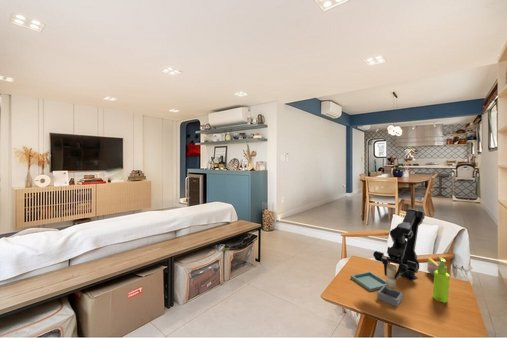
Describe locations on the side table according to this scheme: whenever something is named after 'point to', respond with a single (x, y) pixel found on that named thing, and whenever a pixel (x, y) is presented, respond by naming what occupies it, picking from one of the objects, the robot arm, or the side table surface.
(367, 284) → the green-grey tray
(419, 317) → the side table surface
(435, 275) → the soap dispenser
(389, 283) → the rounded wooden peg
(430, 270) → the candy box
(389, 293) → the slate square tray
